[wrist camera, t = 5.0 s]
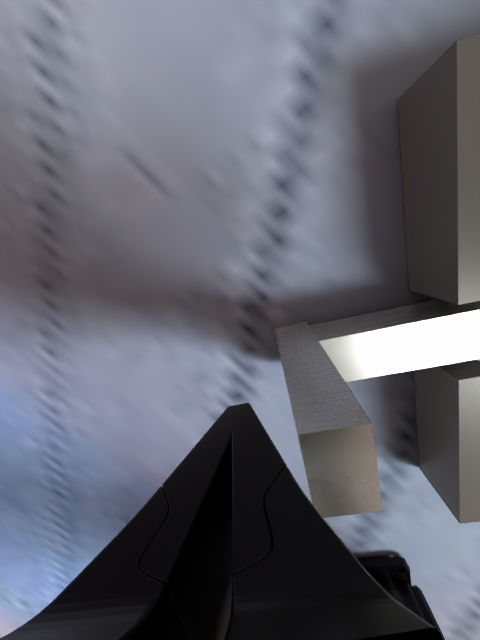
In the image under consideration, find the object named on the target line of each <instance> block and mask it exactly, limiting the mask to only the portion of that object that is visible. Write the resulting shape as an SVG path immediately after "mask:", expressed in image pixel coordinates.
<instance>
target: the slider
mask: <svg viewBox="0 0 480 640" xmlns="http://www.w3.org/2000/svg"><path fill="white" fill-rule="evenodd" d="M274 329H275V334H276V339H277V343H278V348H279V353H280V357H281V362H282V367H283V371H284V376H285V381H286V385H287V390H288V394H289V399H290V403H291V408H292V412H293V417H294V422H295V426H296V431H297V435H298V440H299V444H300V449H301V453H302V458H303V462H304V467H305V472H306V476H307V481H308V485H309V490H310V494H311V499H312V503H313V506H314V507H315V508H316V510H317V511H318V512H319V513H320V515H321V516H322V517H323V518H325V517H334V516H343V515H352V514H360V513H369V512H378V511H382V503H381V494H380V486H379V477H378V468H377V460H376V451H375V442H374V434H373V425H372V422H371V421H370V419H369V418H368V416H367V414H366V413H365V411H364V410H363V408H362V407H361V405H360V404H359V402H358V401H357V399H356V398H355V396H354V394H353V393H352V391H351V390H350V388H349V387H348V385H347V384H346V382H349V381H355V380H361V379H367V378H372V377H378V376H384V375H389V374H395V373H401V372H407V371H412V370H418V369H424V368H430V367H435V366H441V365H447V364H452V363H458V362H464V361H470V360H475V359H480V301H476V302H471V303H466V304H461V305H457V304H454V303H450V302H447V301H444V300H440V299H436V300H431V301H426V302H421V303H416V304H411V305H406V306H401V307H396V308H392V309H387V310H382V311H377V312H372V313H367V314H362V315H357V316H352V317H348V318H343V319H338V320H333V321H328V322H323V323H318V324H313V325H308V324H307V322H303V323H298V324H293V325H288V326H283V327H279V328H274Z"/></svg>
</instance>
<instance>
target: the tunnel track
mask: <svg viewBox="0 0 480 640" xmlns="http://www.w3.org/2000/svg"><path fill="white" fill-rule="evenodd" d="M398 115H399V132H400V149H401V166H402V183H403V200H404V217H405V233H406V250H407V267H408V284H409V290H411V291H414V292H417V293H420V294H424V295H427V296H430V297H434V298H437V299H440V300H444V301H447V302H450V303H454V304H457V305H461V304H466V303H471V302H476V301H480V33H479V34H476V35H473V36H470V37H467V38H464V39H460V40H457V41H456V42H455V43H454V44H453V45H452V46H451V47H450V48H449V49H448V50H447V51H446V52H445V53H444V54H443V55H442V56H441V57H440V58H439V59H438V60H437V61H436V62H435V63H434V64H433V65H432V66H431V67H430V68H429V69H428V70H427V71H426V72H425V73H424V74H423V75H422V76H421V77H420V78H419V79H418V80H417V81H416V82H415V83H414V84H413V85H412V86H411V87H410V88H409V89H408V90H407V91H406V92H405V93H404V94H403V95H402V96H401V97H400V98H399V99H398ZM414 385H415V402H416V419H417V436H418V452H419V468H420V470H421V471H422V472H423V474H424V475H425V477H426V478H427V479H428V481H429V482H430V483H431V485H432V486H433V487H434V489H435V490H436V492H437V493H438V494H439V496H440V497H441V498H442V500H443V501H444V503H445V504H446V505H447V507H448V508H449V509H450V511H451V512H452V514H453V515H454V516H455V518H456V519H457V520H458V522H459V523H469V522H478V521H480V359H475V360H470V361H464V362H458V363H452V364H447V365H441V366H435V367H430V368H424V369H418V370H414Z"/></svg>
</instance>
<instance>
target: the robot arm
mask: <svg viewBox="0 0 480 640" xmlns="http://www.w3.org/2000/svg"><path fill="white" fill-rule="evenodd" d="M162 486H163V487H160V488H159V489H158V490H157V491H156V493H155V494H154V495H153V496H152V497H151V499H150V500H149V501H148V502H147V503H146V504H145V505H144V506H143V508H142V509H141V510H140V511H139V512H138V513H137V514H136V516H135V517H134V518H133V519H132V520H131V521H130V522H129V523H128V524H127V525H126V526H125V527H124V528H123V529H122V530H121V532H120V533H119V534H118V535H117V536H116V537H115V538H114V539H113V540H112V541H111V542H110V543H109V544H108V545H107V546H106V547H105V548H104V549H103V550H102V551H101V552H100V553H99V554H98V555H97V556H96V557H95V558H94V559H93V561H92V562H91V563H90V564H89V565H88V566H87V567H86V568H85V569H84V570H83V571H82V572H81V573H80V574H79V575H78V576H77V577H76V578H75V579H74V580H73V581H72V582H71V583H70V584H69V585H68V586H67V587H66V588H65V589H64V590H63V591H62V592H61V593H60V594H59V595H58V596H57V597H56V598H55V599H54V600H53V601H52V602H51V603H50V604H49V605H48V606H47V607H46V608H45V609H43V610H42V611H41V612H40V613H39V614H37V615H36V616H35V617H33V618H32V619H31V620H29V621H28V622H27V623H25V624H24V625H22V626H21V627H19V628H18V629H16V630H14V631H13V632H11V633H10V634H8V635H6V636H4V637H2V638H0V640H445V639H444V637H443V634H442V632H441V630H440V628H439V626H438V624H437V622H436V620H435V618H434V616H433V614H432V611H431V609H430V607H429V605H428V603H427V601H426V599H425V597H424V595H423V593H422V591H421V589H420V588H418V587H417V586H416V585H414V586H411V579H410V569H409V566H408V564H407V562H406V560H405V559H404V558H402V557H391V558H381V559H370V560H359V561H358V560H357V559H356V557H355V556H354V555H353V554H352V553H351V551H350V550H349V549H348V548H347V546H346V545H345V544H344V543H343V542H342V540H341V539H340V538H339V537H338V535H337V534H336V533H335V532H334V531H333V529H332V528H331V527H330V526H329V524H328V523H327V522H326V521H325V519H324V518H323V517H322V516H321V515H320V513H319V512H318V511H317V510H316V508H315V507H314V506H313V504H312V503H311V502H310V500H309V499H308V498H307V496H306V495H305V494H304V492H303V491H302V489H301V488H300V486H299V485H298V483H297V482H296V480H295V478H294V477H293V475H292V473H291V472H290V470H289V468H287V465H286V464H285V462H284V460H283V459H282V457H281V455H280V454H279V452H278V450H277V449H276V447H275V445H274V444H273V442H272V440H271V439H270V437H269V435H268V434H267V432H266V430H265V429H264V427H263V425H262V424H261V422H260V420H259V419H258V417H257V415H256V414H255V412H254V410H253V408H252V407H251V405H250V404H249V403H244V404H239V405H234V406H229V407H228V408H227V409H226V410H225V411H224V412H223V413H222V415H221V416H220V417H219V418H218V419H217V421H216V422H215V423H214V424H213V425H212V427H211V428H210V429H209V430H208V431H207V432H206V434H205V435H204V436H203V437H202V438H201V440H200V441H199V442H198V443H197V444H196V445H195V447H194V448H193V449H192V450H191V451H190V453H189V454H188V455H187V456H186V457H185V458H184V460H183V461H182V462H181V463H180V464H179V466H178V467H177V468H176V469H175V470H174V471H173V473H172V474H171V475H170V476H169V477H168V479H167V480H166V481H165V482H164V483H163V485H162Z"/></svg>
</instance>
